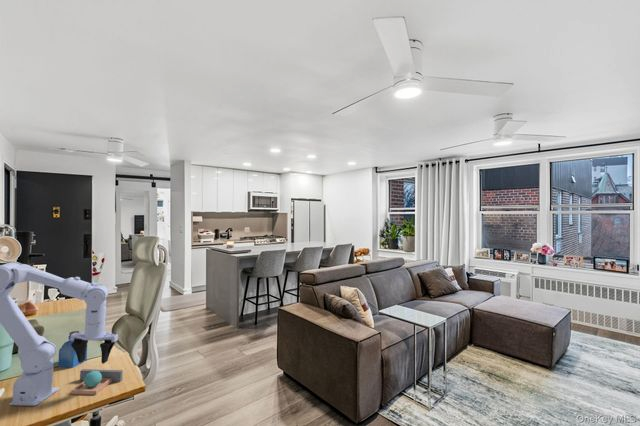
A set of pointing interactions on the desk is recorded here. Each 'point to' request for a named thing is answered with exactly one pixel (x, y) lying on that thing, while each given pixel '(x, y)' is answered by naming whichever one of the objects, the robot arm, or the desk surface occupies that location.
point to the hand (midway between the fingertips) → (93, 361)
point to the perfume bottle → (69, 354)
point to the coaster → (91, 390)
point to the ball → (92, 378)
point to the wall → (104, 374)
